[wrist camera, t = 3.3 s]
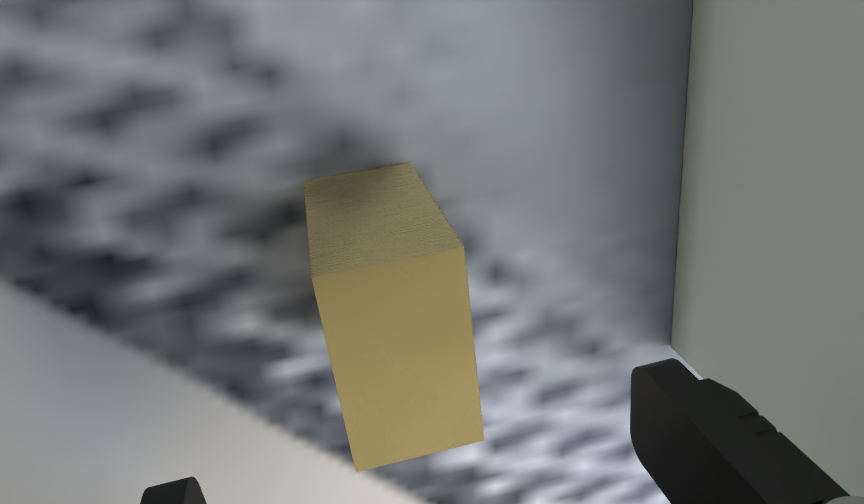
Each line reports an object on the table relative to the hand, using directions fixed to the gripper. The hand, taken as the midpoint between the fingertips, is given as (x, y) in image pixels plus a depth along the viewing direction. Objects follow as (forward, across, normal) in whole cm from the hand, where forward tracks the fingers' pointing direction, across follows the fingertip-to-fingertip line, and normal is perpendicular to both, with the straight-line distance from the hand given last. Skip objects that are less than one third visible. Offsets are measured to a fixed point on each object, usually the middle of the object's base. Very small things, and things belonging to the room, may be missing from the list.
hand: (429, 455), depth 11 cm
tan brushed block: (+8, 0, 0) cm, 8 cm away
